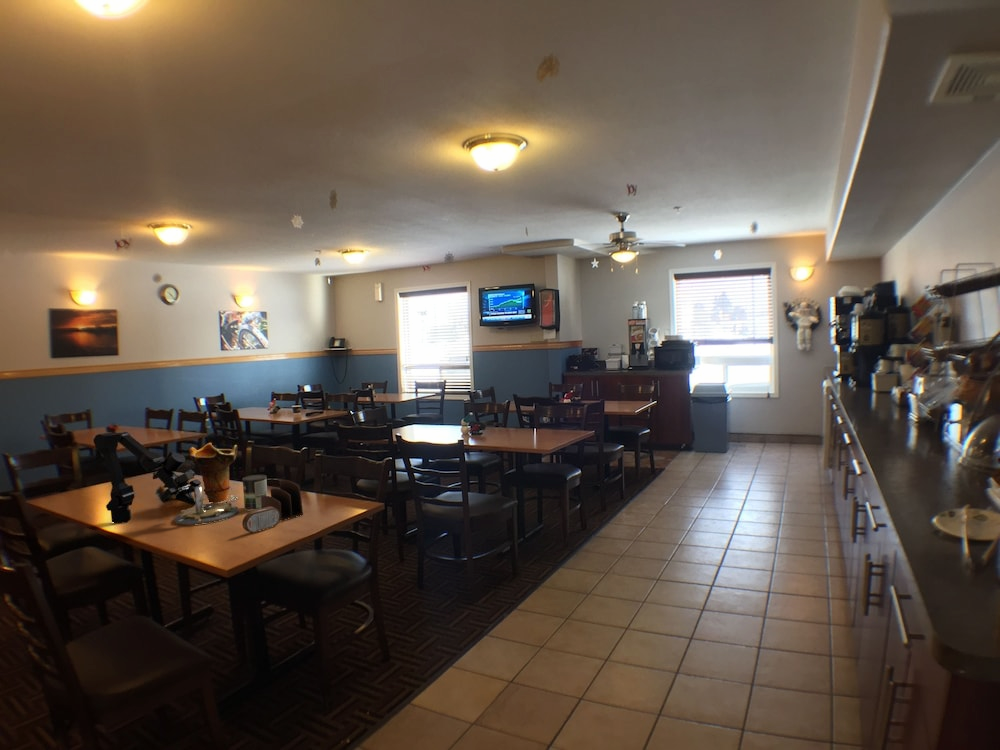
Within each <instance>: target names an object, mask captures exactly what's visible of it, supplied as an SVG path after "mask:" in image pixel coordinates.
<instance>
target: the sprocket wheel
mask: <svg viewBox="0 0 1000 750" xmlns="http://www.w3.org/2000/svg"><path fill="white" fill-rule="evenodd" d="M193 494H194V496H193V497H194V501H195V505H192V506H193V507H188V508H186V509H183V510H180V513H181V518H182V519H185V518H195V519H201V518H205V517H211V516H219V515H221V514H222V513H225V512H227V511H231V510H232V506H231V505H232V503H231V502H227V503H218V502H213V503H211V504H204V505H203V498H204V497H203V486H202V485H199V486H196V487H194V492H193Z"/></svg>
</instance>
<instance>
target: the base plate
mask: <svg viewBox="0 0 1000 750" xmlns="http://www.w3.org/2000/svg"><path fill="white" fill-rule="evenodd" d="M231 506H232V510H231V511H227V512H225V513H222V514H221V515H219V516H211V517H205V518H201V519H195V518H185V519H182V518H181V512H180V513H178V514H177V515H176V516H174V523H175V524H176V523H177V524H176V525H178V524H181V525H180V526H186V525H190V526H196V525H195V524H202V523H209V522H214V521H218V522H220V521H219V520H222V519H225V520H227V519H226V518H228V519H230V518H229V517H231V518H233V517H235V516H236V515H238V513H239V507H238V506H236V505H232V504H231ZM234 515H235V516H234ZM232 516H233V517H232ZM222 521H223V520H222ZM214 523H215V522H214ZM209 524H210V523H209Z"/></svg>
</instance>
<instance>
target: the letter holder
mask: <svg viewBox="0 0 1000 750" xmlns="http://www.w3.org/2000/svg"><path fill="white" fill-rule="evenodd" d="M301 492H302V491H301V486H300V485H299V484H298V483H295V482H294V481H292V480H287V479H280V480H279V488H277V487H270V495H268V496H265V495H263V496H261V506H262V508H266V507H274V508H276V509H277V510H278V511H279V512H280V520H284V519H287V520H289V519H288V518H291V519H293V518H292V517H295V518H297V517H296V516H299V517H301V516H300V515H304V512H303V501H302V494H301ZM280 520H279V521H280ZM284 521H285V520H284Z"/></svg>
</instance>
